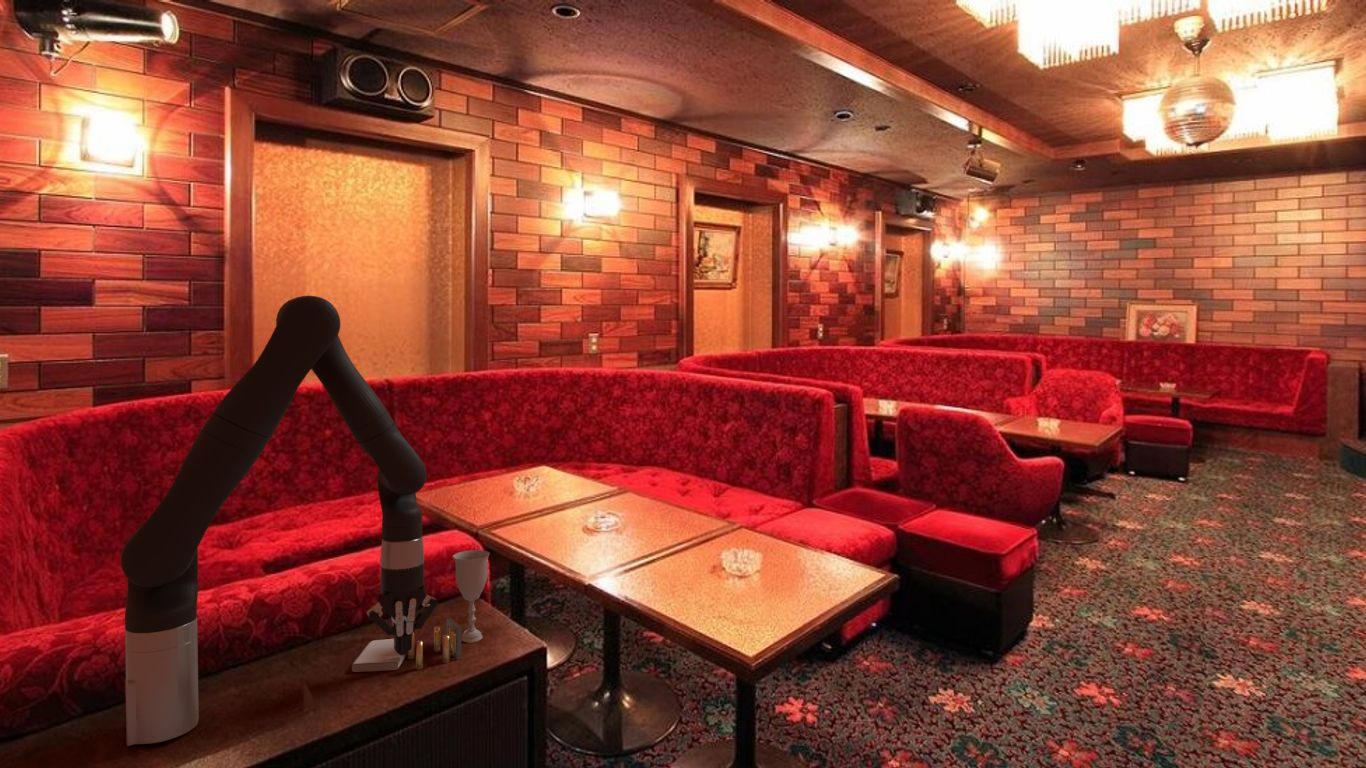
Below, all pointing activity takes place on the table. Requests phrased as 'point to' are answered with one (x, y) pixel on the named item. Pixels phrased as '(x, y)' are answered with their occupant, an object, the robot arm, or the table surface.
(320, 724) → the table surface
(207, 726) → the table surface
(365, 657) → the external hard drive
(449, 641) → the candles
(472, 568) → the chalice
